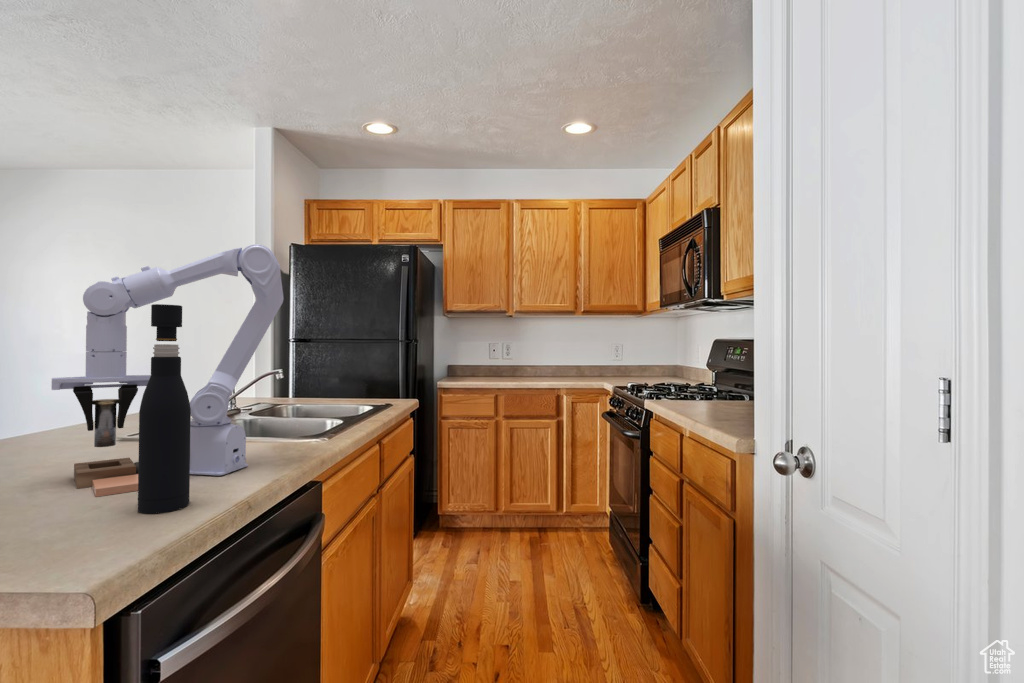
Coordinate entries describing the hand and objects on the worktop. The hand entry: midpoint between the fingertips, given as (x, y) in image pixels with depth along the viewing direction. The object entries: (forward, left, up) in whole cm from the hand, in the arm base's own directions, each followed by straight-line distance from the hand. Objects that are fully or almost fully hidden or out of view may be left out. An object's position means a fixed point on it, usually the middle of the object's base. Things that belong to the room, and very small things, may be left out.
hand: (105, 428), depth 93 cm
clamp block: (-1, -1, -9) cm, 9 cm away
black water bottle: (-22, +12, -9) cm, 27 cm away
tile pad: (-7, +4, -9) cm, 12 cm away
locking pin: (0, 0, -3) cm, 3 cm away
